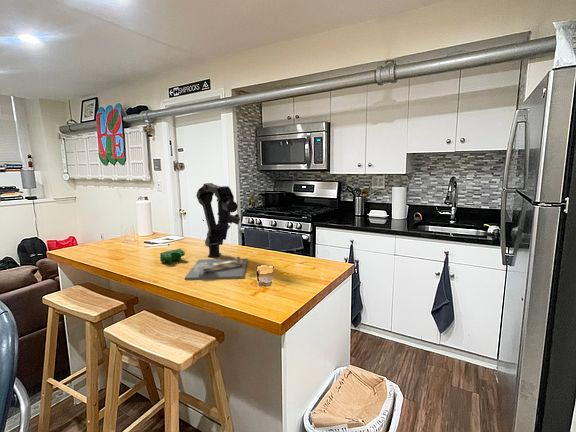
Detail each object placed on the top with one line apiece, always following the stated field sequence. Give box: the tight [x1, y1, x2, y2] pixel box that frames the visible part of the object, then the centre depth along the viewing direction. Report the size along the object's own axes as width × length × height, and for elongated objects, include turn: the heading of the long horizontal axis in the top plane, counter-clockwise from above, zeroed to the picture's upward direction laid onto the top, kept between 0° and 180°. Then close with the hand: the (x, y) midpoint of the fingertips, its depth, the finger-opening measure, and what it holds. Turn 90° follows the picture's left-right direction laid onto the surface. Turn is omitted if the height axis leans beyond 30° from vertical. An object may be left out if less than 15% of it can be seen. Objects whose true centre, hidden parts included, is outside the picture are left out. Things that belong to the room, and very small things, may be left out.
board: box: [184, 258, 248, 281], centre depth 155 cm, size 28×26×1 cm
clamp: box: [159, 248, 186, 265], centre depth 168 cm, size 12×6×9 cm, turn 132°
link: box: [203, 256, 243, 272], centre depth 153 cm, size 20×4×4 cm, turn 120°
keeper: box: [193, 261, 214, 277], centre depth 146 cm, size 8×7×5 cm
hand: (224, 239), depth 166 cm, fingers closed
